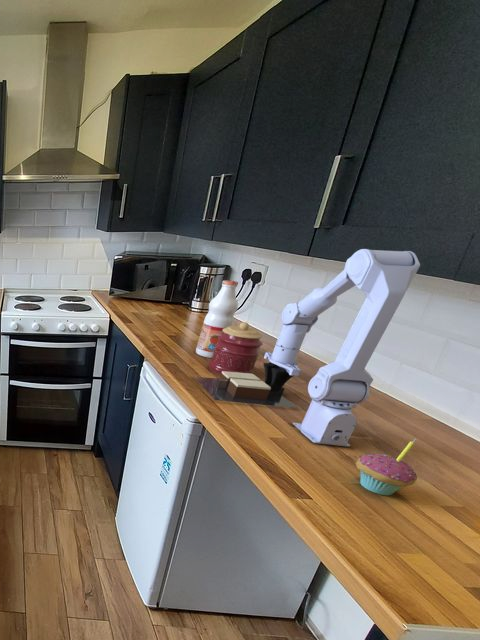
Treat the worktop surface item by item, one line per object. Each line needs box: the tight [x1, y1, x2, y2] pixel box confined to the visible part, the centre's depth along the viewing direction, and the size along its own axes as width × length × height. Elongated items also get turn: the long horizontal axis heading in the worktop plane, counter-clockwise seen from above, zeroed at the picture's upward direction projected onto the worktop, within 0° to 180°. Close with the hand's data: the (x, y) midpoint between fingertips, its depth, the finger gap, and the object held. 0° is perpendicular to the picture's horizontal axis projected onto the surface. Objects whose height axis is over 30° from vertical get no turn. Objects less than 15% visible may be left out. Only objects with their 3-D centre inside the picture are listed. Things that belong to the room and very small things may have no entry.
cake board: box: [193, 376, 298, 409], centre depth 122 cm, size 18×22×1 cm
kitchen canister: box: [208, 321, 264, 375], centre depth 135 cm, size 13×13×18 cm
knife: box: [217, 380, 285, 396], centre depth 121 cm, size 18×2×3 cm, turn 81°
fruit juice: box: [195, 279, 239, 359], centre depth 149 cm, size 9×9×28 cm
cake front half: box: [227, 379, 271, 400], centre depth 119 cm, size 5×9×4 cm, turn 81°
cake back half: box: [219, 371, 261, 381], centre depth 124 cm, size 5×9×4 cm, turn 81°
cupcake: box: [355, 438, 418, 496], centre depth 79 cm, size 9×8×12 cm
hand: (271, 388), depth 121 cm, fingers closed
